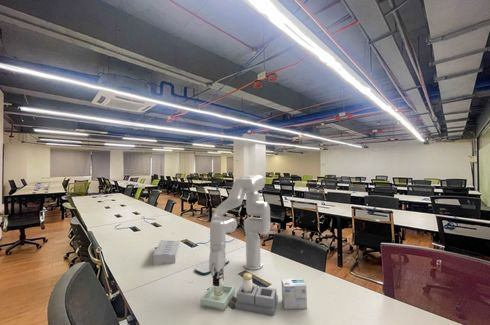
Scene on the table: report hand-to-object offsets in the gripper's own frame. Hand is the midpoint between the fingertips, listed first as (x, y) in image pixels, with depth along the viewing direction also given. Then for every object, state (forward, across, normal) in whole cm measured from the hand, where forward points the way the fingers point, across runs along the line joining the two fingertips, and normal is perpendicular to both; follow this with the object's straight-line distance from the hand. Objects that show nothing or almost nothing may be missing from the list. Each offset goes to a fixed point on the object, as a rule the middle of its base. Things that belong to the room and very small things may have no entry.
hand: (218, 282), depth 106 cm
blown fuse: (+5, 0, 0) cm, 5 cm away
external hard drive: (+9, -32, -19) cm, 38 cm away
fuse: (+6, -2, +14) cm, 16 cm away
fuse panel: (+8, -2, +19) cm, 21 cm away
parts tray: (+8, 0, 0) cm, 8 cm away
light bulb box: (+9, -6, +36) cm, 38 cm away
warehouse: (+9, -40, -60) cm, 73 cm away
